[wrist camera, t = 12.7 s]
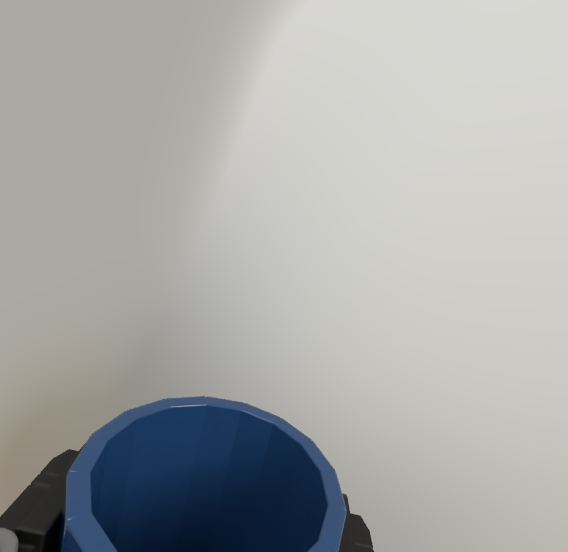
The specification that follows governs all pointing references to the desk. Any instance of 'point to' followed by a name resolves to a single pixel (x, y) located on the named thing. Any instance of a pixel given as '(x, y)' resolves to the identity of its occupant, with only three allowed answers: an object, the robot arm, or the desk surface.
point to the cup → (200, 484)
